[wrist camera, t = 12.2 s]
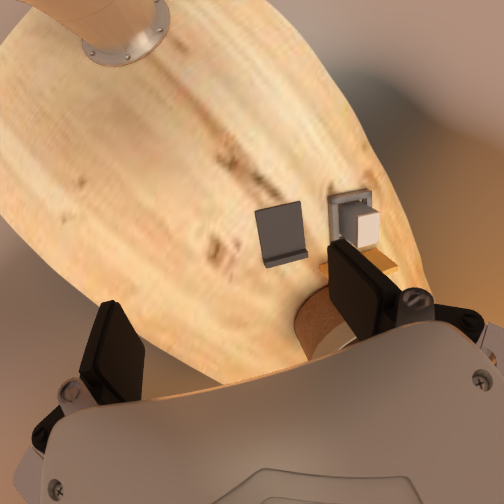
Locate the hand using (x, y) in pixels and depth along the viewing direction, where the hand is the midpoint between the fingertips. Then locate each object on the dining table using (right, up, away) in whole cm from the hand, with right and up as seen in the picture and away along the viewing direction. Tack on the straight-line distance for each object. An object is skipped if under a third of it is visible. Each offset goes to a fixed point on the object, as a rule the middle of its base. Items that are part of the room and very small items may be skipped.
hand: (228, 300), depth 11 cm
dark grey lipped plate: (+6, +5, +31) cm, 31 cm away
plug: (+17, +8, +32) cm, 37 cm away
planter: (+17, -10, +41) cm, 45 cm away
